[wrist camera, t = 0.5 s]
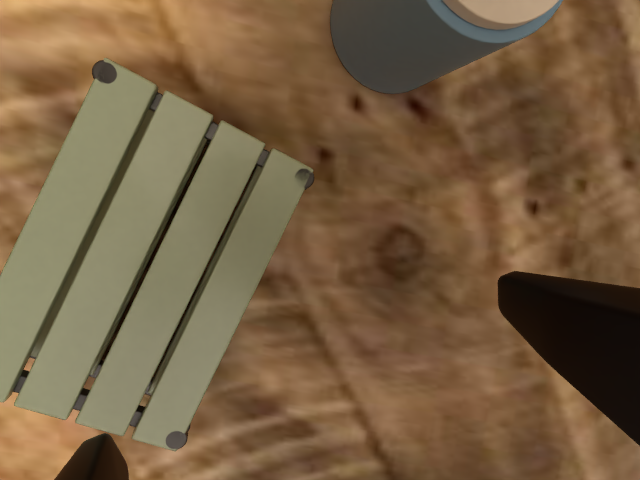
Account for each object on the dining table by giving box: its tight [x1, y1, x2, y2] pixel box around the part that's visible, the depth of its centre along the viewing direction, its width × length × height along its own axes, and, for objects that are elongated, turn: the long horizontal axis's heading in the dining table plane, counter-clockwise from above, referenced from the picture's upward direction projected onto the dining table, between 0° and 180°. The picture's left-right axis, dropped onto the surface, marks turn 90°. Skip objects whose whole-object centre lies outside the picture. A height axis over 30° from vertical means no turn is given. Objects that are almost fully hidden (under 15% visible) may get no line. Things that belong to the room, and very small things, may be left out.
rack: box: [0, 58, 314, 451], centre depth 18 cm, size 9×13×4 cm
